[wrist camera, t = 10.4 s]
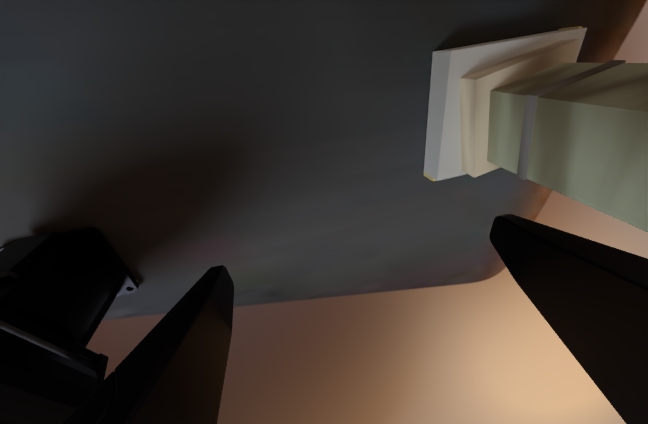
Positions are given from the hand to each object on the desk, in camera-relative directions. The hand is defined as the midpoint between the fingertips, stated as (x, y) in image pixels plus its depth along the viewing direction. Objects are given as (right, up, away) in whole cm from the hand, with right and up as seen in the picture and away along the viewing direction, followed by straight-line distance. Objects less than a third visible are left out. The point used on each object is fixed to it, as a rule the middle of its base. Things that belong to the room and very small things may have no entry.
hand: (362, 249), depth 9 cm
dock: (+12, +10, +12) cm, 19 cm away
